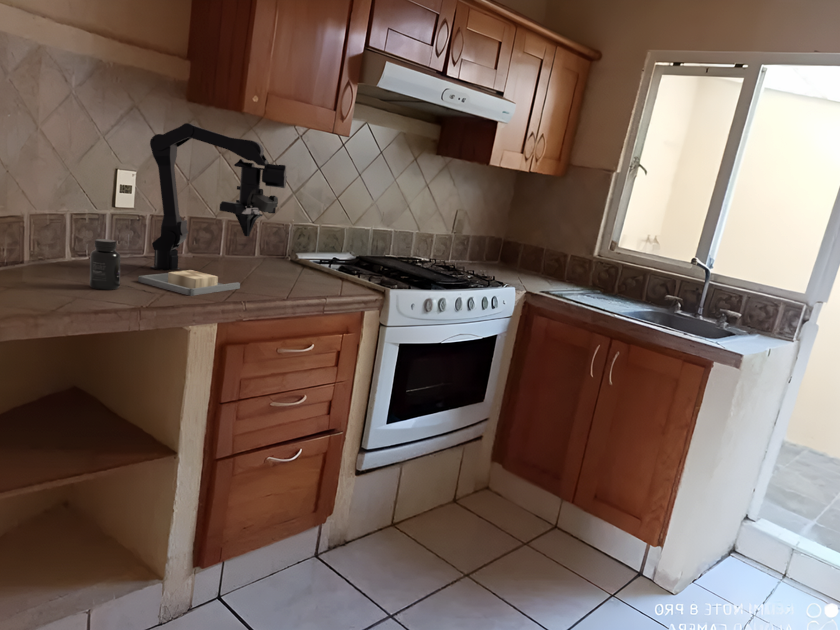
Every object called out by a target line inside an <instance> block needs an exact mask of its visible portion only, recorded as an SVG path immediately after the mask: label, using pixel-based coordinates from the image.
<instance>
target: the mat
mask: <svg viewBox="0 0 840 630" xmlns="http://www.w3.org/2000/svg"><path fill="white" fill-rule="evenodd" d="M137 282H138V283H141V284H145V285H149V286H153V287H156V288H160V289H163V290H168V291H171V292H174V293H175V292H176V293H178V294H183V295H184V296H185V295H186V296H190V297H192V296H194V297H195V296H198V295H206V294H211V293H212V294H213V293H219V292H225V291H226V292H227V291H232V290H237V289H241V282H230V283H225V284H224V283H220V282H218V283H217V285H215V286H208V287H201V288H193V289H190V288H186V287H182V286H179V285H175V284H171V283H168V272H165V273H164V272H163V273H155V274H145V275H144V274H143V275H138V276H137Z"/></svg>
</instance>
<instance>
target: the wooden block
mask: <svg viewBox="0 0 840 630" xmlns="http://www.w3.org/2000/svg"><path fill="white" fill-rule="evenodd" d="M167 273H168V283H171V284H175V285H179V286H182V287H186V288H190V289H193V288H201V287H208V286H215V285H217V283H219V276H217V275H213V274H209V273H206V272H201V271H196V270H193V269H188V270H179V271H178V270H177V271H176V270H175V271H168V272H167Z"/></svg>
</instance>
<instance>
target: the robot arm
mask: <svg viewBox="0 0 840 630" xmlns="http://www.w3.org/2000/svg"><path fill="white" fill-rule="evenodd" d="M191 139H193V140H196V141H199V142H203V143H205V144H209V145H212V146H215V147H218V148H222V149H225V150H226V151H227V150H228V151H230V152H232V153H233V154H235V155H237V156H239V157H241V158H240V159H239V160H238V161H237V162H235V163H234V164H233V166H234V167H235V168H240V182H239V185H236V190H238V191H239V194H238V195H239V197H238V199H236V200H235V201H230V200H225V201H224V200H223V201H221V202H220V203H219V208H218V209H219V211H220V212H225V213H231V214H233V215H235V217H236V219H237V221H238V223H239V226H240V228H241V231H242V233H243V236H245V237H250V234H251V231H252V230H253V227H254V225H255V224H256V222H257V220H258V219H259V218H260V217H263V215H264V214H263V213H267V214H276V208H278V203H279V197H278V196H276V195H264V189H263V188H261V182H262V183H263V184H264V185H265V187H270V188H271V187H272V188H277V189H278V188H279V189H286V185H287V179H288V176H287V165H285V164H273V163H270V162H269V161H268V160H267V158H266V156H265V155H264V148H263V145H262V144H261V143H260V142H259V141H255V140H251V139H245V138H244V139H243V138H236V137H235V138H234V137H230V136H227V135H224V134H221V133H219V132H214V131H212V130H209V129H206V128H202V127H199V126H196V125H195V124H193V123H189V122H186V123H184V124H182V125H181V126H179V127H176V128H174V129H172V130H169V131H167V132H164V133H158V134H154V135H153V136H152V137H151V138H150V141H149V146H150V150H151V153H152V157H153V159H154V161H155V163H156V165H157V167H158V176H159V186H160V195H161V203H162V213H163V217H162V221H161V225H160V236H159V237H158V238H156V239H155V240H154V241H152V242H151V245H152V247H153V250H154V257H153V258H154V260H153V261H154V264H153V265H151V266H149V268H150V269H153V270H157V271H164V272H165V271H166V272H167V271H176V270H177V271H178V270H181V269H182V268H181V267H179V253H178V252H179V250H177V249H179V247H180V245H181V244H182V243H183V242H185V241H186V239H187V235H188V234H189V233H190V232H189V231H188V228H187V227H188V220H187V219H184V220H182V217H181V215H180V208H179V199H178V198H179V197H178V190H177V189H178V188H177V182H176V171H175V170H176V169H175V165H176V161H177V156H178V155H177V154H178V148H179V147H181V146H182V145H184V144H186V143H187V142H188V141H190V140H191ZM242 158H243V159H242ZM244 159H245V160H247V161H251V162H247V161H244ZM255 164H256V165H257V166H255ZM258 166H261V167H258ZM261 212H262V213H261Z"/></svg>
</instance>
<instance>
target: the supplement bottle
mask: <svg viewBox="0 0 840 630" xmlns="http://www.w3.org/2000/svg"><path fill="white" fill-rule="evenodd" d="M94 248H95V249H94V250H92V251H91V252H90V254H89V256H90V257H89V258H90V259H89V286H90V287H91V289H95V290H103V291H106V290H107V291H109V290H111V291H112V289H113V290H117V289H119V288H120V287H121V286H120V284H121V254H120V252H118V251H117V250H116V249H117V240H113V239H106V238H98V239H94Z"/></svg>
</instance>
